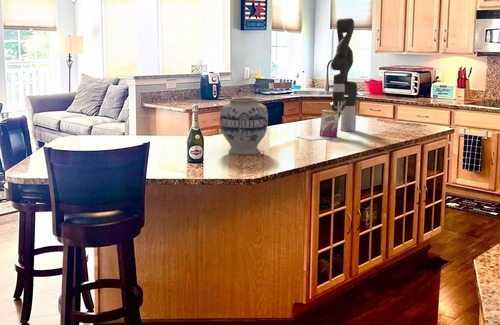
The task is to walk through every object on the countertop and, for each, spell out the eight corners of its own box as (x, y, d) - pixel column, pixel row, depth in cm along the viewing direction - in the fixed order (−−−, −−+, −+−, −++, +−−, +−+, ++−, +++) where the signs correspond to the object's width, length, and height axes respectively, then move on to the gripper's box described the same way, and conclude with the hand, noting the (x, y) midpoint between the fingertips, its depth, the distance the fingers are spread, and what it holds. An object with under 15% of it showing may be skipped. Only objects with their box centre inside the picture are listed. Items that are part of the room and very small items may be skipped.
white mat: (316, 135, 413) (316, 134, 413) (330, 138, 401) (330, 137, 401) (297, 137, 404) (297, 136, 404) (310, 140, 393) (310, 139, 393)
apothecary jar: (211, 154, 349) (211, 99, 342) (232, 146, 372) (232, 95, 366) (256, 158, 338) (256, 102, 332) (274, 149, 362) (275, 97, 356)
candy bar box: (319, 136, 406) (321, 110, 402) (319, 134, 410) (321, 109, 407) (337, 137, 405) (339, 112, 401) (336, 136, 409) (339, 111, 406)
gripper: (342, 89, 412) (341, 116, 415) (326, 90, 405) (325, 117, 408) (350, 90, 405) (349, 117, 409) (334, 91, 399) (333, 118, 402)
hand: (337, 117), depth 409 cm, fingers closed
